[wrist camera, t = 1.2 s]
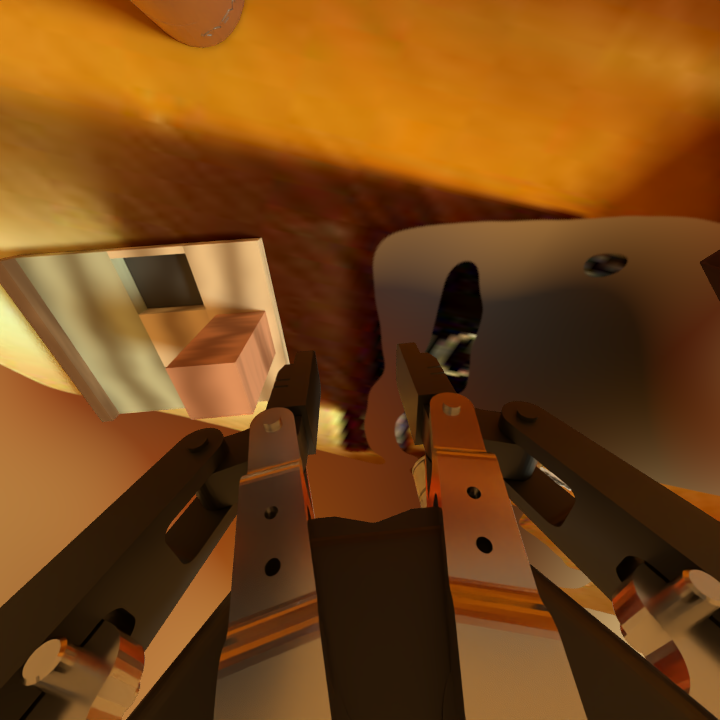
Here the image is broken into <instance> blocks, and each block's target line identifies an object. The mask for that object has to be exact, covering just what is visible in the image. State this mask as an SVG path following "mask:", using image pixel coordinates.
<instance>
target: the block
mask: <svg viewBox="0 0 720 720" xmlns="http://www.w3.org/2000/svg"><path fill="white" fill-rule="evenodd" d="M275 354H276V352H275V348H274V344H273V340H272V336H271V332H270V328H269V324H268V320H267V316H266V312H265V311H257V312H244V313H232V314H219V315H215V316H214V317H213V319H212V320H211V321H210V322H209V323H208V324H207V325H206V326H205V327H204V328H203V329H202V330H201V331H200V332H199V333H198V334H197V335H196V336H195V338H194V339H193V340H192V341H191V342H190V343H189V344H188V345H187V346H186V347H185V348H184V349H183V350H182V351H181V352H180V353H179V354H178V355H177V357H176V358H175V359H174V360H173V361H172V362H171V363H170V364H169V365H168V366H167V367H166V368H165V369H166V371H167V373H168V375H169V377H170V379H171V381H172V383H173V385H174V387H175V389H176V391H177V393H178V395H179V397H180V399H181V401H182V403H183V405H184V407H185V409H186V411H187V412H188V414H189V416H190V418H191V419H192V420H193V419H204V418H215V417H226V416H238V415H249V414H253V413H254V410H255V407H256V405H257V402H258V399H259V397H260V394H261V391H262V389H263V386H264V383H265V381H266V378H267V375H268V372H269V370H270V367H271V364H272V362H273V359H274V356H275Z"/></svg>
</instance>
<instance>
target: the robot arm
mask: <svg viewBox="0 0 720 720" xmlns="http://www.w3.org/2000/svg"><path fill="white" fill-rule="evenodd" d="M130 1H131V2H132V3H133V4H134V5H135V6H136V7H138V8H139V9H140V10H141V11H142V12H143V13H144V14H145V15H146V16H148V17H149V18H150V19H151V20H152V21H153V22H154V23H155V24H157V25H158V26H159V27H160V28H161V29H162V30H163V31H164V32H166V33H167V34H168V35H170V36H171V37H173V38H174V39H176V40H177V41H179V42H182V43H184V44H187V45H189V46H194V47H202V48H204V47H209V46H214V45H216V44H218V43H220V42H222V41H224V40H225V39H226V38H227V37H228V36H229V35H230V34H231V33H232V32H233V30H234V28H235V26H236V25H237V23H238V21H239V19H240V16H241V12H242V9H243V6H244V0H130ZM396 351H397V352H396V355H397V356H396V357H397V358H396V379H397V386H398V390H399V393H400V397H401V400H402V403H403V407H404V410H405V413H406V417H407V420H408V424H409V427H410V430H411V434H412V437H413V440H414V444H415V445H420V444H423V445H424V448H425V479H426V501H427V507H426V508H417V509H410V510H408V511H406V512H403V513H400V514H398V515H395V516H392V517H390V518H387V519H385V520H382V521H380V522H376V523H369V522H364V521H357V520H351V519H346V518H340V517H326V518H316V519H315V516H314V510H313V504H312V498H311V491H310V486H309V480H308V473H307V468H306V464H307V456H308V455H310V454H316V444H317V432H318V419H319V407H320V395H321V389H320V379H319V373H318V367H317V361H316V355H315V351H303V352H297V353H296V356H295V360H294V364H285V365H284V366H283V367H282V368H281V369H280V370H279V371H278V373H277V376H276V379H275V383H274V386H273V389H272V392H271V395H270V398H269V401H268V404H267V407H266V410H265V411H263V412H261V413H260V414H258V415H257V416H256V417H255V418H254V419H253V420H252V422H251V424H250V428H249V429H247V430H244V431H242V432H239V433H236V434H233V435H230V436H227V437H224V436H223V434H222V433H221V431H220V430H218V429H215V428H205V429H201V430H198V431H195V432H193V433H191V434H189V435H187V436H186V437H184V438H183V439H182V440H181V441H179V442H178V443H177V444H176V445H175V446H174V447H173V448H172V449H171V450H170V451H169V452H168V453H166V454H165V455H164V456H163V457H162V458H161V459H160V460H159V461H158V462H157V463H156V464H155V465H154V466H152V467H151V468H150V469H149V470H148V471H147V472H146V473H145V474H144V475H143V476H142V477H141V478H140V479H138V480H137V481H136V482H135V483H134V484H133V485H132V486H131V487H130V488H129V489H128V490H127V491H126V492H125V493H123V494H122V495H121V496H120V497H119V498H118V499H117V500H116V501H115V502H114V503H113V504H112V505H110V506H109V507H108V508H107V509H106V510H105V511H104V512H103V513H102V514H101V515H100V516H99V517H98V518H97V519H95V520H94V521H93V522H92V523H91V524H90V525H89V526H88V527H87V528H86V529H85V530H84V531H83V532H81V533H80V534H79V535H78V536H77V537H76V538H75V539H74V540H73V541H72V542H71V543H70V544H68V545H67V546H66V547H65V548H64V549H63V550H62V551H61V552H60V553H59V554H58V555H57V556H56V557H54V558H53V559H52V560H51V561H50V562H49V563H48V564H47V565H46V566H45V567H44V568H43V569H41V571H39V572H38V573H37V574H36V575H35V576H34V577H33V578H32V579H31V580H30V581H29V582H27V583H26V585H24V586H23V587H22V588H21V589H20V590H19V591H18V592H17V593H16V594H15V595H13V596H12V597H11V598H10V599H9V600H8V601H7V602H6V603H5V604H4V605H3V606H2V607H1V608H0V720H121V719H122V716H123V714H124V712H125V711H126V710H127V709H128V708H129V707H130V706H131V705H132V704H133V702H134V701H135V699H136V697H137V694H138V692H139V688H140V679H141V676H142V673H143V669H144V662H145V655H144V652H145V650H146V649H147V647H148V646H149V644H150V643H151V641H152V640H153V638H154V637H155V635H156V634H157V632H158V630H159V629H160V628H161V626H162V625H163V623H164V622H165V620H166V619H167V618H168V616H169V615H170V613H171V612H172V610H173V609H174V607H175V606H176V604H177V603H178V601H179V600H180V598H181V597H182V595H183V594H184V592H185V591H186V589H187V588H188V586H189V585H190V583H191V582H192V580H193V579H194V577H195V576H196V574H197V573H198V571H199V570H200V568H201V567H202V565H203V564H204V563H205V561H206V560H207V558H208V556H209V555H210V554H211V552H212V550H213V549H214V548H215V546H216V545H217V543H218V542H219V540H220V539H221V537H222V536H223V534H224V533H225V531H226V530H227V528H228V527H229V525H230V524H231V522H232V521H233V519H234V518H235V516H236V515H237V522H236V535H235V548H234V562H233V573H232V587H231V591H230V593H229V594H228V595H227V596H226V598H225V599H224V600H223V601H222V603H221V604H220V605H219V606H218V607H217V609H216V610H215V611H214V612H213V614H212V615H211V616H210V617H209V618H208V620H207V621H206V622H205V623H204V625H203V626H202V627H201V628H200V630H199V631H198V632H197V633H196V634H195V636H194V637H193V638H192V639H191V641H190V642H189V643H188V644H187V645H186V647H185V648H184V649H183V650H182V652H181V653H180V654H179V655H178V657H177V658H176V659H175V660H174V662H173V663H172V664H171V665H170V666H169V668H168V669H167V670H166V671H165V673H164V674H163V675H162V676H161V677H160V679H159V680H158V681H157V682H156V684H155V685H154V686H153V687H152V689H151V690H150V691H149V692H148V694H147V695H146V696H145V697H144V698H143V700H142V701H141V702H140V703H139V705H138V706H137V707H136V708H135V709H134V711H133V712H132V713H131V714H130V716H129V717H128V718H127V719H126V720H720V522H719V521H717V520H716V519H714V518H713V517H711V516H709V515H708V514H706V513H705V512H703V511H702V510H700V509H699V508H697V507H695V506H694V505H692V504H691V503H689V502H688V501H686V500H684V499H683V498H681V497H680V496H678V495H677V494H675V493H673V492H672V491H670V490H669V489H667V488H666V487H664V486H663V485H661V484H659V483H658V482H656V481H654V480H653V479H652V478H650V477H648V476H647V475H645V474H644V473H642V472H641V471H639V470H638V469H636V468H634V467H633V466H631V465H630V464H628V463H626V462H625V461H623V460H622V459H620V458H619V457H617V456H616V455H614V454H612V453H611V452H609V451H608V450H606V449H605V448H603V447H601V446H600V445H598V444H597V443H595V442H594V441H592V440H590V439H589V438H587V437H586V436H584V435H583V434H581V433H580V432H578V431H577V430H575V429H573V428H572V427H570V426H569V425H567V424H566V423H564V422H562V421H561V420H559V419H558V418H556V417H555V416H553V415H551V414H550V413H548V412H547V411H545V410H544V409H542V408H540V407H539V406H536V405H534V404H531V403H528V402H522V401H513V402H509V403H507V404H505V405H504V406H503V408H502V412H494V411H488V410H481V409H477V408H474V406H473V404H472V403H471V401H470V400H468V399H467V398H466V397H464V396H462V395H460V394H456V392H455V390H454V388H453V387H452V385H451V383H450V381H449V380H448V378H447V376H446V374H444V371H443V369H442V368H441V366H440V364H439V362H438V361H437V359H436V358H435V357H433V356H432V355H431V354H429V353H420V352H419V350H418V348H417V346H416V344H415V343H414V342H413V343H401V344H397V350H396ZM537 462H539V463H541V464H542V465H543V466H544V467H545V468H547V469H548V470H549V471H550V472H552V473H553V474H554V475H555V476H557V477H558V478H559V479H560V480H562V481H563V482H564V483H565V484H566V485H568V487H569V488H570V489H571V490H572V492H573V493H574V496H575V498H574V497H573V496H572V495H570V494H569V493H568V492H567V491H566V490H564V489H563V488H562V487H561V486H560V485H558V484H557V483H556V482H555V481H554V480H552V479H551V478H550V477H549V476H547V475H546V474H545V473H544V472H543V471H541V470H540V469H539V468H538V467H537V466H536V464H537ZM195 494H196V496H197V497H196V498H195V500H194V501H193V502H192V503H191V504H190V505H189V507H188V508H187V509H186V510H185V512H184V513H183V514H182V515H181V516H180V517H179V519H178V520H177V521H176V522H175V524H174V525H173V526H172V527H171V528H170V529H169V531H168V532H167V533H166V531H167V528H168V527H169V525H170V523H171V522H172V521H173V520H174V518H175V517H176V516H177V515H178V514H179V512H180V511H181V510H182V509H183V508H184V507H185V505H186V504H187V503H188V502H189V501H190V500H191V498H192V497H193V496H194V495H195ZM509 498H510V499H511V500H512V501H513V503H514V504H515V505H516V506H517V507H518V508H519V509H520V510H521V511H522V512H523V513H524V514H525V515H526V516H527V517H528V518H529V519H530V520H531V521H532V522H533V523H534V524H535V525H536V526H537V527H538V528H539V529H540V530H541V531H542V532H543V533H544V534H545V535H546V536H547V537H548V538H549V539H550V540H551V541H552V542H553V543H554V544H555V545H556V546H557V547H558V548H559V549H560V550H561V551H562V552H563V553H564V554H565V555H566V556H567V557H568V558H569V559H570V560H571V561H572V562H573V563H574V564H575V565H576V566H577V567H578V568H579V569H580V570H581V571H582V572H583V573H584V574H585V575H586V576H587V577H588V578H589V579H590V580H591V581H592V582H593V583H594V584H595V585H596V586H597V587H598V588H599V589H600V590H601V591H602V592H603V593H604V594H605V595H606V596H607V597H608V598H609V599H610V600H611V601H612V603H613V608H614V612H615V614H616V617H617V619H618V621H619V622H620V630H621V633H622V635H623V637H624V638H625V640H626V641H627V642H628V643H629V644H630V645H631V646H632V647H633V648H634V649H635V650H637V651H638V652H640V653H642V654H643V655H644V656H645V658H646V659H645V658H644V657H642V656H641V655H640V654H639V653H638V652H636V651H635V650H634V649H633V648H632V647H630V646H629V645H628V644H627V643H625V642H624V641H623V640H622V639H621V638H619V637H618V636H617V635H616V634H615V633H613V632H612V631H611V630H610V629H608V628H607V627H606V626H605V625H604V624H602V623H601V622H600V621H599V620H598V619H596V618H595V617H594V616H592V615H591V614H590V613H589V612H588V611H587V610H585V609H584V608H583V607H582V606H581V605H579V604H578V603H577V602H576V601H574V600H573V599H572V598H571V597H570V596H568V595H567V594H566V593H565V592H563V591H562V590H561V589H560V588H559V587H557V586H556V585H555V584H554V583H552V582H551V581H550V580H549V579H548V578H546V577H545V576H544V575H543V574H542V573H540V572H539V571H538V570H537V569H535V568H534V567H533V566H532V565H531V564H529V561H528V558H527V554H526V551H525V548H524V545H523V542H522V538H521V535H520V532H519V528H518V525H517V522H516V519H515V516H514V512H513V509H512V506H511V502H510V499H509Z"/></svg>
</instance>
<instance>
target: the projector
mask: <svg viewBox="0 0 720 720" xmlns="http://www.w3.org/2000/svg"><path fill="white" fill-rule="evenodd" d="M700 264H701V266H702V268H703V270H704V272H705V274H706V276H707V277H708V279H709V282H710V283H711V285H712V287H713V289H714V291H715V293H716V295H717V297H718V299H719V301H720V250H718V251H717V252H715V253H714V254H712V255H710V256H709V257H707V258H705V259H704V260H702V261H701V262H700Z"/></svg>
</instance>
